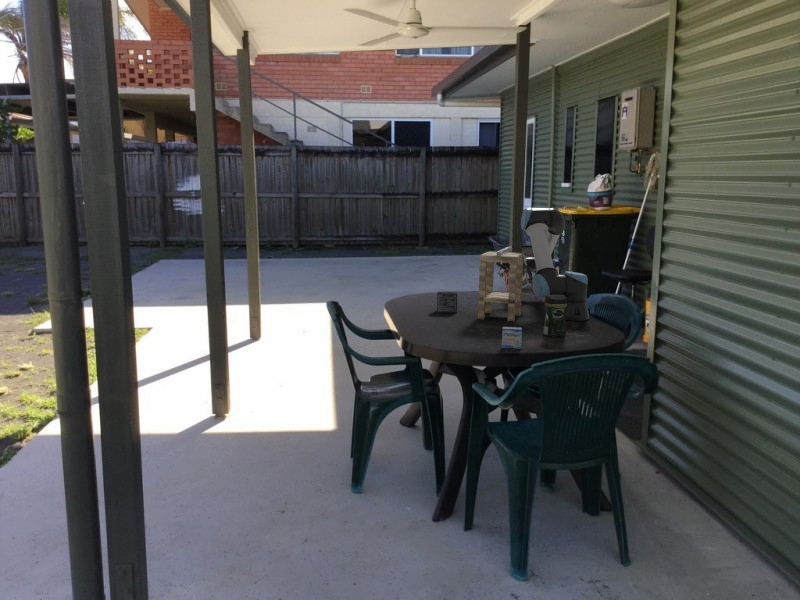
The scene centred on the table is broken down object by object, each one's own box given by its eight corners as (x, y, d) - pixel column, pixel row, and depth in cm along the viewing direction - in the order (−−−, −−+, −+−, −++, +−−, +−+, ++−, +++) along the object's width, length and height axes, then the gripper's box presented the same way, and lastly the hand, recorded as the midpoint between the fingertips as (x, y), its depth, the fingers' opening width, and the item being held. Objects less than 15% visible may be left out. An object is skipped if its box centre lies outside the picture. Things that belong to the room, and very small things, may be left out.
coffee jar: (561, 333, 304) (563, 293, 301) (567, 337, 296) (570, 296, 293) (540, 333, 303) (543, 293, 300) (546, 337, 295) (548, 296, 292)
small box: (457, 311, 351) (457, 291, 349) (457, 313, 345) (457, 293, 343) (437, 310, 352) (437, 290, 350) (436, 312, 346) (437, 292, 344)
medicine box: (501, 349, 275) (502, 328, 273) (501, 346, 279) (502, 326, 278) (521, 350, 274) (522, 329, 272) (520, 347, 278) (521, 327, 276)
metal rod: (507, 250, 348) (508, 246, 348) (511, 250, 348) (511, 246, 347) (496, 255, 325) (496, 251, 324) (500, 256, 324) (500, 251, 324)
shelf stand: (486, 312, 349) (488, 251, 343) (520, 315, 343) (523, 253, 337) (477, 318, 332) (480, 255, 327) (513, 321, 326) (516, 257, 320)
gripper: (539, 280, 369) (534, 265, 350) (495, 277, 378) (488, 262, 359) (541, 268, 371) (536, 252, 353) (497, 265, 380) (490, 250, 362)
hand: (512, 257), depth 356 cm, fingers open, 13 cm apart
